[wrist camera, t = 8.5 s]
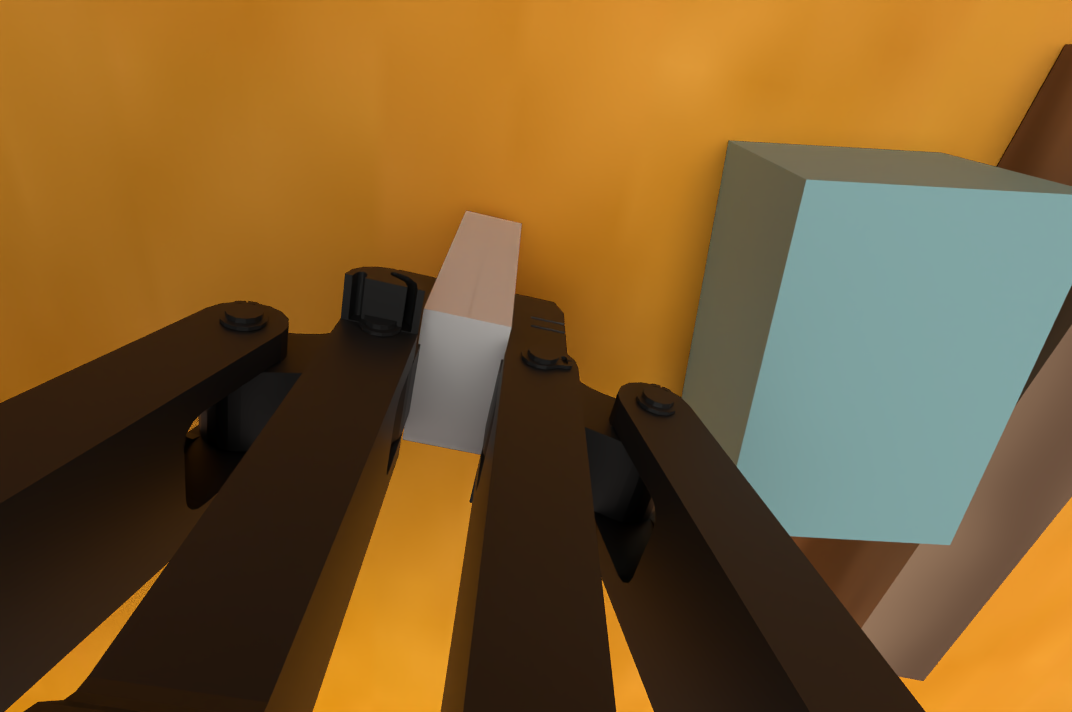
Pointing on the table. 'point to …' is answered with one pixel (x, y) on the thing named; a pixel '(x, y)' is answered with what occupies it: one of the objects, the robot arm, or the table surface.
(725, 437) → the block
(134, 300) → the table surface
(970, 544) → the board
